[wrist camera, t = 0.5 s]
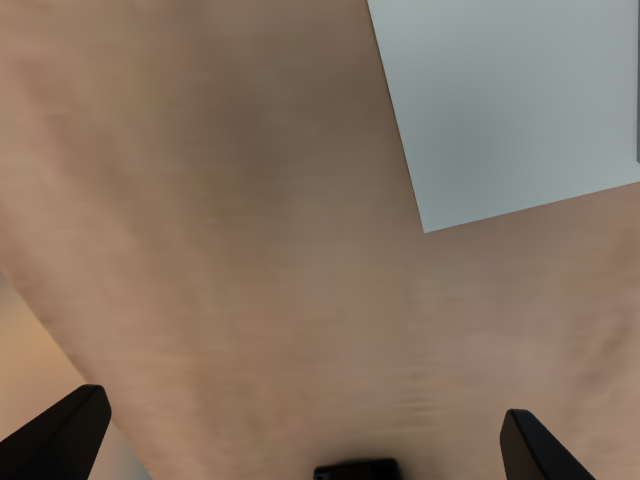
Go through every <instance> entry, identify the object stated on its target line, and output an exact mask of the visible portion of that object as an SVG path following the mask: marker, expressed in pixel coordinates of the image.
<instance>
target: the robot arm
mask: <svg viewBox="0 0 640 480" xmlns="http://www.w3.org/2000/svg"><path fill="white" fill-rule="evenodd" d="M111 413H112V412H111V407H110V404H109V401H108V398H107V395H106V392H105V389H104V388H103V387H102V386H101V385H92V384H85V385H82V386H80V387H79V388H77V389H76V390H74V391H73V392H71V393H70V394H69V395H67V396H66V397H64V398H63V399H61V400H60V401H58V402H57V403H56V404H54V405H53V406H51V407H50V408H48V409H47V410H46V411H44V412H43V413H41V414H40V415H39V416H37V417H35V418H34V419H33V420H31V421H30V422H28V423H27V424H25V425H24V426H23V427H21V428H20V429H18V430H17V431H15V432H14V433H12V434H11V435H10V436H8V437H7V438H5V439H4V440H2V441H1V442H0V480H87V479H88V477H89V474H90V472H91V469H92V467H93V464H94V461H95V459H96V456H97V454H98V451H99V448H100V446H101V443H102V441H103V438H104V435H105V433H106V430H107V428H108V425H109V422H110V419H111ZM500 446H501V452H502V457H503V462H504V467H505V472H506V478H507V480H596V479H595V478H594V477H593V476H592V475H591V474H590V473H589V472H588V471H587V470H586V469H585V468H584V467H583V466H582V465H581V464H580V463H579V462H578V461H577V459H576V458H575V457H574V456H573V455H572V454H571V453H570V452H569V451H568V450H567V449H566V448H565V447H564V446H563V445H562V444H561V443H560V442H559V441H558V440H557V439H556V438H555V437H554V436H553V435H552V434H551V433H550V432H549V431H548V430H547V428H546V427H545V426H544V425H543V424H542V423H541V422H540V421H539V420H538V419H537V418H536V417H535V416H534V415H533V414H532V413H531V412H529V411H528V410H524V409H509V410H508V411H507V412H506V415H505V418H504V422H503V425H502V429H501V432H500ZM313 478H314V480H404V479H403V476H402V473H401V471H400V468H399V466H398V463H397V462H396V461H394V460H386V461H378V462H370V463H362V464H355V465H347V466H339V467H331V468H323V469H317V470H315V471H314V475H313Z"/></svg>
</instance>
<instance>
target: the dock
mask: <svg viewBox="0 0 640 480" xmlns="http://www.w3.org/2000/svg"><path fill="white" fill-rule="evenodd" d="M367 2H368V6H369V11H370V15H371V19H372V23H373V27H374V31H375V35H376V39H377V43H378V47H379V51H380V55H381V59H382V64H383V68H384V72H385V76H386V80H387V84H388V88H389V92H390V96H391V100H392V104H393V108H394V112H395V117H396V121H397V125H398V129H399V133H400V137H401V141H402V145H403V149H404V153H405V157H406V161H407V165H408V170H409V174H410V178H411V182H412V186H413V190H414V194H415V198H416V202H417V206H418V210H419V214H420V218H421V223H422V226H423V230H424V233H428V232H432V231H436V230H440V229H444V228H448V227H453V226H457V225H461V224H465V223H469V222H473V221H477V220H482V219H486V218H490V217H494V216H498V215H502V214H506V213H511V212H515V211H519V210H523V209H527V208H531V207H535V206H540V205H544V204H548V203H552V202H556V201H560V200H564V199H568V198H573V197H577V196H581V195H585V194H589V193H593V192H597V191H602V190H606V189H610V188H614V187H618V186H622V185H626V184H631V183H635V182H639V181H640V0H367Z"/></svg>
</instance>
